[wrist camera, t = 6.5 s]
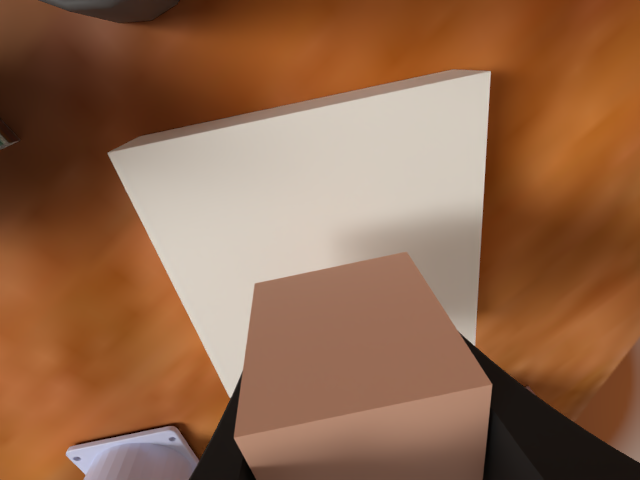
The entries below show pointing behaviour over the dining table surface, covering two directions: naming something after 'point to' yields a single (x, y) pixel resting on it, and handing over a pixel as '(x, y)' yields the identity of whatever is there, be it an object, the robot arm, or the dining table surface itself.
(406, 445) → the cube
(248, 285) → the base
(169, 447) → the robot arm
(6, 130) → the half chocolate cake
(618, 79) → the dining table surface
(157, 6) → the candle holder
